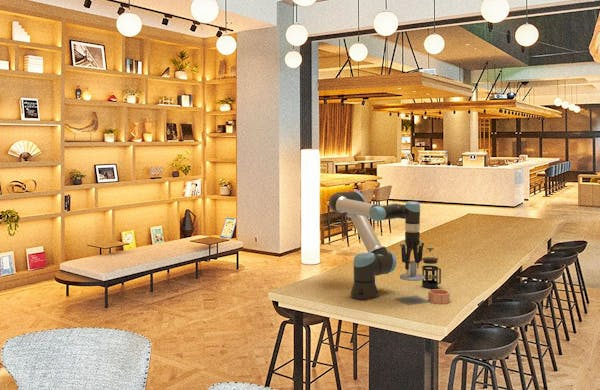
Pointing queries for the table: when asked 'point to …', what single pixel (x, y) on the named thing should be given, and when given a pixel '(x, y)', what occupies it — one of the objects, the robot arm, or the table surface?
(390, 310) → the table surface
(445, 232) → the table surface
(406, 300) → the mat
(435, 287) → the french press
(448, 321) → the table surface
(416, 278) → the lid
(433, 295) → the bowl
